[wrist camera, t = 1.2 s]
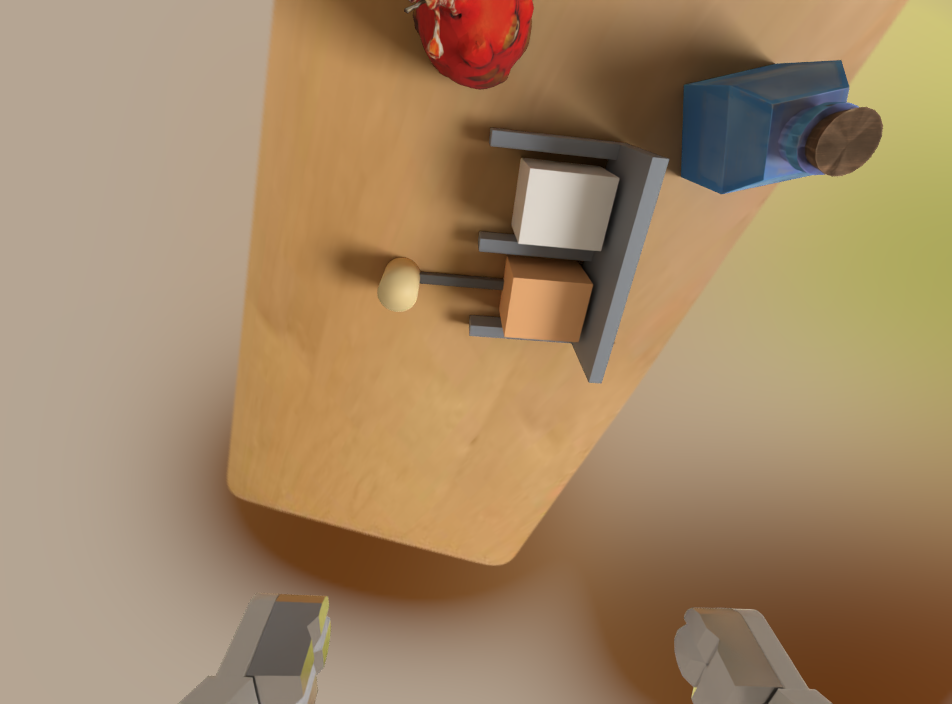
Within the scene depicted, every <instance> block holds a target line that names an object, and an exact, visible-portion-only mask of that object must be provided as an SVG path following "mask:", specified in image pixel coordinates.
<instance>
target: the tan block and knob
mask: <svg viewBox="0 0 952 704" xmlns="http://www.w3.org/2000/svg"><path fill="white" fill-rule="evenodd" d="M419 283H421V284H433V285H445V286H457V287H469V288H482V289H494V290H502V293H501V299H500V306H499V312H500V317H501V323H502V328H503V333H504V337H510V338H523V339H537V340H550V341H564V342H579V338H580V334H581V330H582V327H583V323H584V319H585V315H586V311H587V307H588V303H589V299H590V295H591V291H592V287H593V283H592V282H591V280H590V279H589V277H588V276H587V274H586V273H585V271H584V270H583V269H582V267H581V266H580V264H579V263H578V261H569V260H557V259H546V258H535V257H524V256H513V255H507V258H506V265H505V272H504V279H500V278H489V277H477V276H465V275H453V274H442V273H430V272H420V270H419V267H418V266H417V265H416V263H415V262H413V261H412V260H410V259H408V258H402V257H400V258H395V259H393V260H391V261H390V262H389V263H388V264H387V266H386V268H385V271H384V273H383V276H382V279H381V281H380V284H379V287H378V292H377V293H378V298H379V300H380V302H381V304H382V305H383V306H384V307H386V308H387V309H389V310H391V311H395V312H402V311H406V310H408V309H410V308H411V307H412V306H413V305H414V304H415V302H416V299H417V295H418V289H419Z"/></svg>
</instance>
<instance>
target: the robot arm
mask: <svg viewBox="0 0 952 704" xmlns="http://www.w3.org/2000/svg"><path fill="white" fill-rule="evenodd" d="M328 608H329V601H328V596H311V595H287V594H268V593H256V594H255V595H254V596H253V598H252V599H251V601H250V602H249V604H248V606H247V609H246V610H245V613H244V615H243V617H242V619H241V621H240V624H239V626H238V628H237V630H236V632H235V635H234V637H233V639H232V641H231V644H230V646H229V648H228V650H227V652H226V655H225V657H224V659H223V661H222V663H221V665H220V667H219V670H218V672H217V674H216V676H208V677H207V678H205V679H204V680H203V681H202V682H201V683H200V684H199V685H198V686H197V687H196V688H195V689H193V690H192V691H191V692H190V693H189V694H188V695H187V696H186V697H185V698H184V699H182V700H181V701H180V702H179V703H178V704H315V699H316V696H317V692H318V687H317V677H316V675H317V674H318V673H319V672H320V671H321V670H322V669H323V668H324V665H325V661H326V657H327V653H328V648H329V642H330V632H331V623H330V618H329V617H327V612H328ZM684 619H685V621H686V623H687V624H686V625H684V626H683V627H681V628H680V629H678V631H677V634H676V636H675V640H674V641H675V655H676V659H677V663H678V666H679V669H680V671H681V674H682V676H683V677H684V678H685V679H686V680H687V681H688V682H689V683H690V684H691V685H692V686H693V693H692V698H691V699H692V701H693V704H832V703H831V702H830V701H829V700H827V699H826V698H825V697H824V696H823V695H821V694H820V693H819V692H818V691H817V690H813V689H808V687H807V685H806V684H805V682H804V680H803V679H802V677H801V676H800V674H799V672H798V671H797V669H796V668H795V666H794V664H793V663H792V661H791V660H790V658H789V656H788V655H787V653H786V652H785V650H784V648H783V647H782V646H781V644H780V642H779V641H778V639H777V637H776V636H775V634H774V632H773V631H772V629H771V628H770V626H769V625H768V623H767V621H766V620H765V618H764V617H763V615H762V614H760V613H759V612H758V611H757V610H752V609H732V608H691V609H689V610H687V612H686V614H685V616H684Z"/></svg>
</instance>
